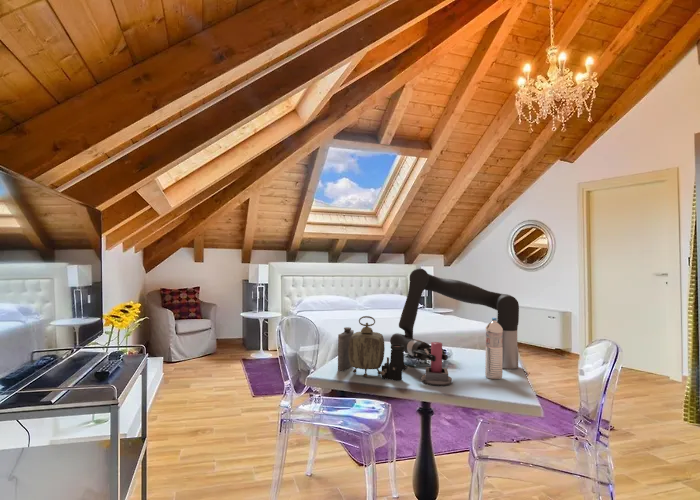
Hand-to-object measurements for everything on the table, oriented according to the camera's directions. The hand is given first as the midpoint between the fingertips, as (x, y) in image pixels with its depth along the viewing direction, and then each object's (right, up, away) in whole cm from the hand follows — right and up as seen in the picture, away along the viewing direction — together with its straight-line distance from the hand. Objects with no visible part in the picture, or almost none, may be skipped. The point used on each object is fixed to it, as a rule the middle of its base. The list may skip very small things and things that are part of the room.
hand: (440, 358), depth 166 cm
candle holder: (-1, -10, +2) cm, 10 cm away
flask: (-38, -10, +22) cm, 45 cm away
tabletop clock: (-29, -10, +9) cm, 32 cm away
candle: (-1, -9, +2) cm, 9 cm away
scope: (-18, -10, +5) cm, 21 cm away
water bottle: (+24, -11, +9) cm, 28 cm away
